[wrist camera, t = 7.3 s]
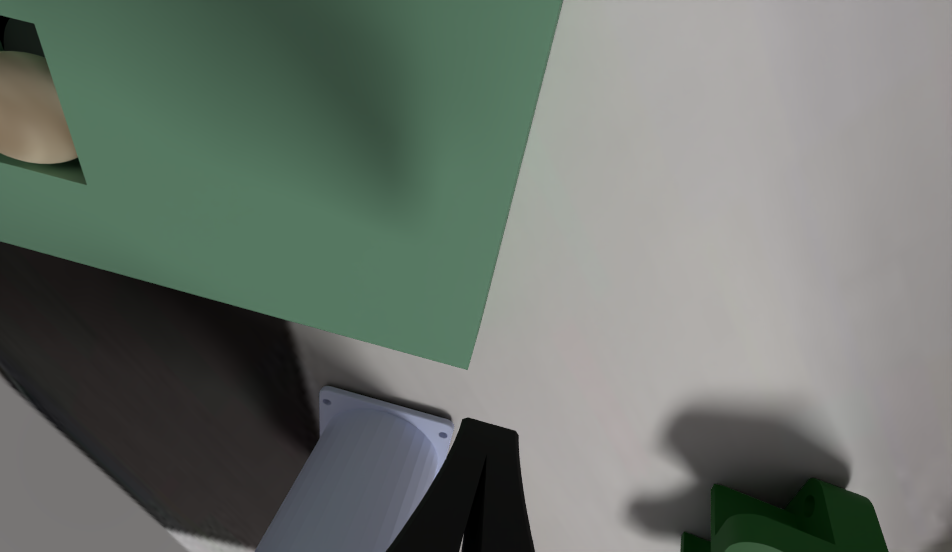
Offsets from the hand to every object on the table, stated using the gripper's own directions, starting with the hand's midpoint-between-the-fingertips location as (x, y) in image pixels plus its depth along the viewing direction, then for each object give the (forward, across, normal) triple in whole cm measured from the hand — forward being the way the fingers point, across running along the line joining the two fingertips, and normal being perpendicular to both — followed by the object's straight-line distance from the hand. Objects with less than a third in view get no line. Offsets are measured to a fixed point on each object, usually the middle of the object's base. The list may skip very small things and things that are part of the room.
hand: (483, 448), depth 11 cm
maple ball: (+7, +20, -2) cm, 21 cm away
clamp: (+10, -16, +13) cm, 23 cm away
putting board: (+9, +13, -3) cm, 16 cm away
